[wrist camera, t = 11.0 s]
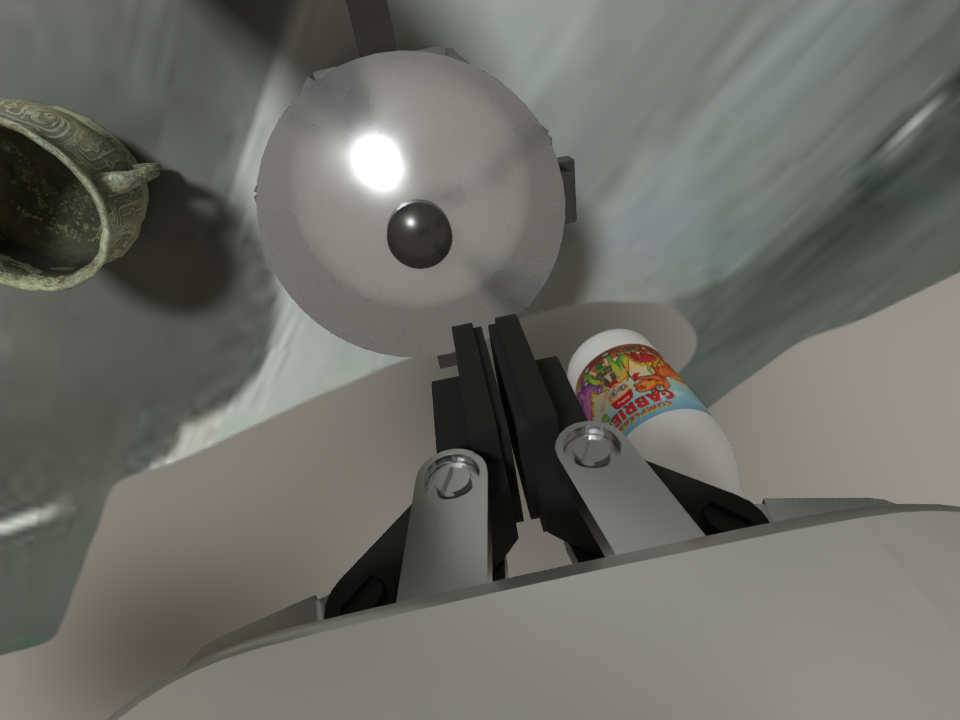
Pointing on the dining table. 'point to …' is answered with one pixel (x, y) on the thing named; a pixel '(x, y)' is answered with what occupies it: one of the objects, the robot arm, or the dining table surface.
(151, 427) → the dining table surface
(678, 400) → the milk bottle
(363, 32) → the pot
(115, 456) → the dining table surface
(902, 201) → the dining table surface
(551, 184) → the lid
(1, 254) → the vessel
